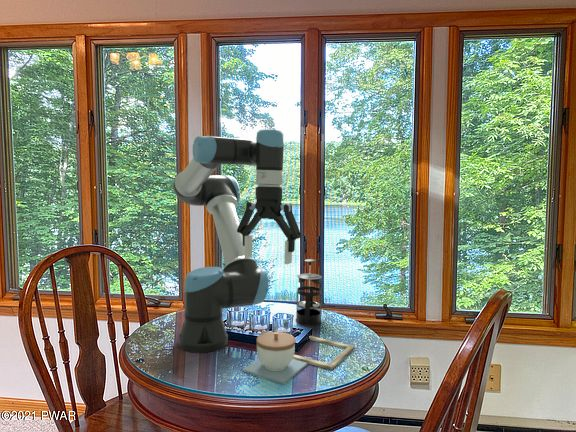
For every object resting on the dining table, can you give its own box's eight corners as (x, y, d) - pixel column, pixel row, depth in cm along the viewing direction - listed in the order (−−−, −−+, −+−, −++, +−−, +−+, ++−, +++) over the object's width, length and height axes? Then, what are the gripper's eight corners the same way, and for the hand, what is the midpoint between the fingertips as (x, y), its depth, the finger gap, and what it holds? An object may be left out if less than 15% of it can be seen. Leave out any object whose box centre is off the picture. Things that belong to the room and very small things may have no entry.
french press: (319, 327, 144) (321, 263, 142) (293, 325, 146) (295, 261, 144) (322, 316, 156) (324, 257, 154) (298, 314, 157) (299, 255, 155)
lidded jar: (290, 377, 106) (291, 342, 105) (251, 372, 108) (251, 338, 107) (298, 360, 116) (298, 328, 115) (261, 355, 118) (262, 324, 117)
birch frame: (279, 355, 120) (279, 352, 120) (305, 336, 135) (305, 334, 135) (331, 370, 112) (331, 367, 112) (354, 348, 126) (354, 346, 126)
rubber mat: (242, 371, 110) (242, 369, 110) (268, 354, 121) (268, 352, 121) (283, 384, 103) (283, 382, 103) (307, 365, 114) (307, 362, 114)
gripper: (225, 184, 117) (224, 257, 119) (301, 187, 104) (299, 268, 106) (241, 184, 123) (240, 253, 125) (314, 187, 111) (312, 263, 113)
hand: (267, 260), depth 116 cm, fingers open, 13 cm apart
